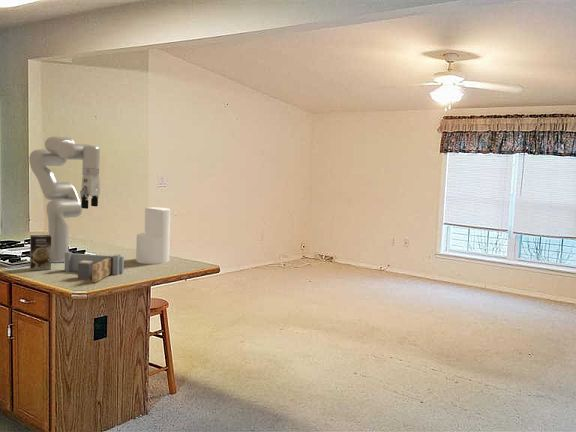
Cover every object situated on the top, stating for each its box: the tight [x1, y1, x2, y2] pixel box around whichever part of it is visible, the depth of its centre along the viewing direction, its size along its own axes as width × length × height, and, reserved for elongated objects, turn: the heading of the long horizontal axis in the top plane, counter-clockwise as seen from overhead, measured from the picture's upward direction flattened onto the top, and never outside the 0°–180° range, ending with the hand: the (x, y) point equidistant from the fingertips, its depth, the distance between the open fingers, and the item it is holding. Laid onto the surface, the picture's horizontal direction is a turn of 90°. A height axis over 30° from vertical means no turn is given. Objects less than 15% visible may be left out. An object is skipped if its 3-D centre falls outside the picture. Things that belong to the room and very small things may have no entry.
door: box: [91, 255, 113, 283], centre depth 251 cm, size 20×2×8 cm, turn 177°
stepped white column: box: [135, 206, 171, 265], centre depth 295 cm, size 17×17×28 cm
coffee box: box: [29, 234, 52, 271], centre depth 264 cm, size 9×6×16 cm
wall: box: [64, 251, 125, 276], centre depth 262 cm, size 28×4×9 cm, turn 85°
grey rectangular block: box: [77, 260, 94, 280], centre depth 250 cm, size 5×5×8 cm
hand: (89, 207), depth 265 cm, fingers open, 9 cm apart
